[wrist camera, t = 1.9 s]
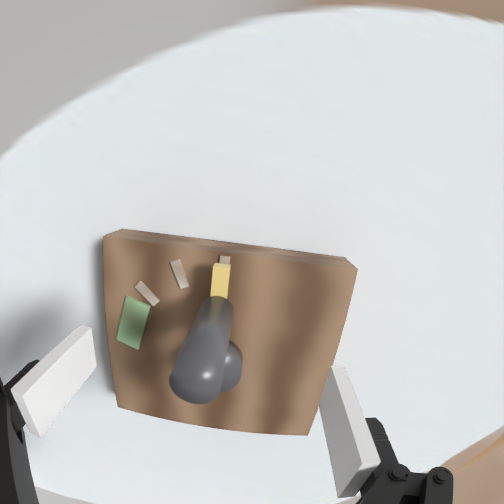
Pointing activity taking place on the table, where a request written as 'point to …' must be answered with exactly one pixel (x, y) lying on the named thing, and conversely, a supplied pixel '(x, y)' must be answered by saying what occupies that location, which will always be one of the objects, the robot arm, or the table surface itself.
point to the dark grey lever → (209, 348)
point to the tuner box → (242, 332)
